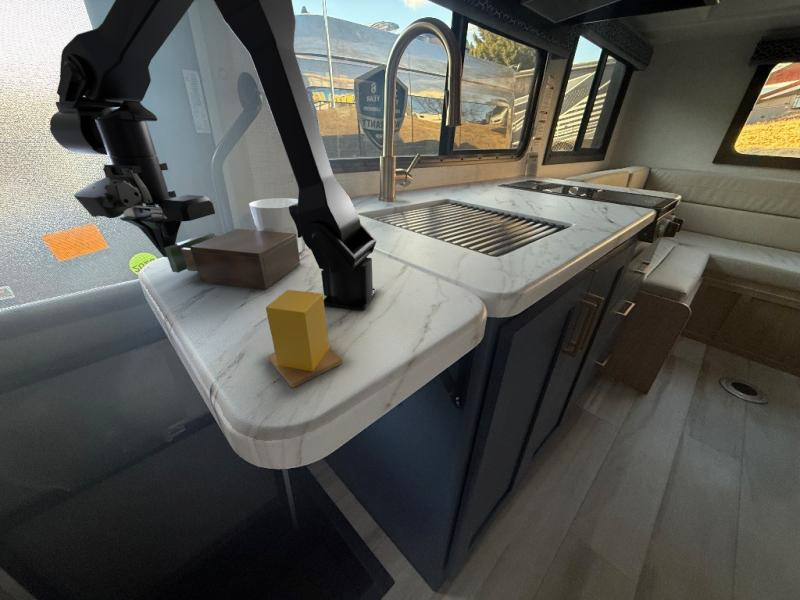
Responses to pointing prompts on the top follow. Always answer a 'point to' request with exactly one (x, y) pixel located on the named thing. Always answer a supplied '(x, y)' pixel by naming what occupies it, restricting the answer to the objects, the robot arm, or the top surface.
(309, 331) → the block
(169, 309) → the top surface
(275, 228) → the cup
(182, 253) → the drawer
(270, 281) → the cabinet
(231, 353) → the top surface
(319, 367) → the coaster
